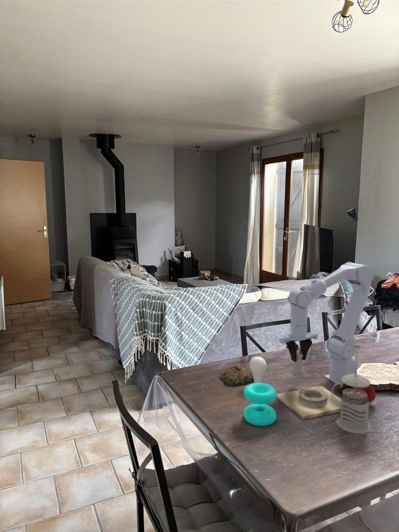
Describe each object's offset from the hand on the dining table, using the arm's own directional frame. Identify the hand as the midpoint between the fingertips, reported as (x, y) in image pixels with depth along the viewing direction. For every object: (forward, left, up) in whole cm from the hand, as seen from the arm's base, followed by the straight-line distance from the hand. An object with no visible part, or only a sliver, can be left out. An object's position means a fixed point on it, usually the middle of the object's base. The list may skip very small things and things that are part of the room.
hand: (298, 360), depth 144 cm
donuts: (+23, +15, -10) cm, 29 cm away
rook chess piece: (0, 0, -6) cm, 6 cm away
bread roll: (+18, -15, -11) cm, 25 cm away
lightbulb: (+13, -6, -10) cm, 18 cm away
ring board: (+2, +12, -10) cm, 16 cm away
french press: (-1, +27, -10) cm, 29 cm away
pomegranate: (-14, +19, -10) cm, 25 cm away
